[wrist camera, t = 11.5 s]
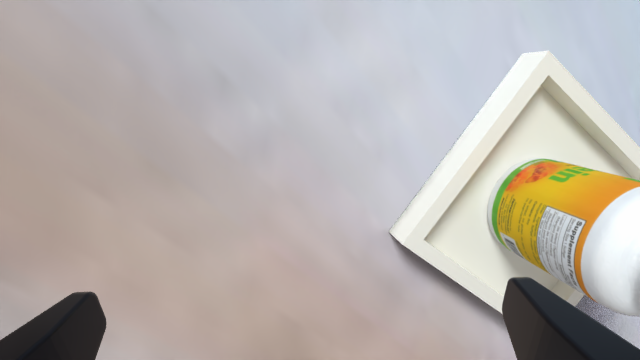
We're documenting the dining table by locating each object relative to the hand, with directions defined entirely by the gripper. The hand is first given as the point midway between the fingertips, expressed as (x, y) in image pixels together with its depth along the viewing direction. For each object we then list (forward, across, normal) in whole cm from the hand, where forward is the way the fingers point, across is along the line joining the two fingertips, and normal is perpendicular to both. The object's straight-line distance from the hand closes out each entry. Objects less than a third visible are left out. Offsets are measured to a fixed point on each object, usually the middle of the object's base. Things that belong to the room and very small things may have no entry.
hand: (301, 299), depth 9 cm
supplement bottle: (+13, -12, +6) cm, 18 cm away
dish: (+13, -12, +6) cm, 19 cm away
